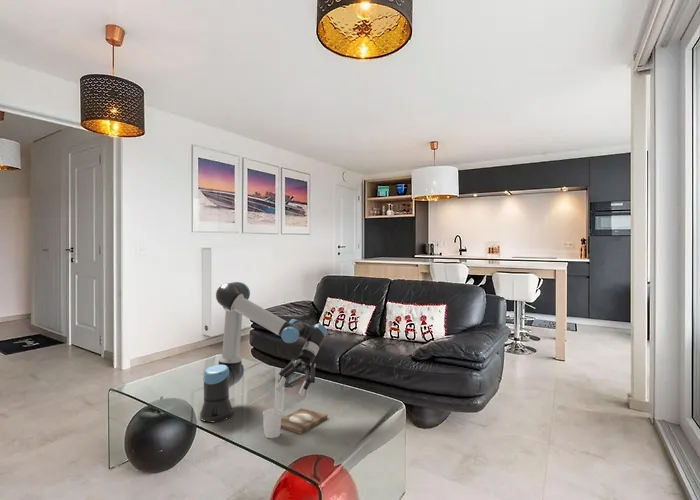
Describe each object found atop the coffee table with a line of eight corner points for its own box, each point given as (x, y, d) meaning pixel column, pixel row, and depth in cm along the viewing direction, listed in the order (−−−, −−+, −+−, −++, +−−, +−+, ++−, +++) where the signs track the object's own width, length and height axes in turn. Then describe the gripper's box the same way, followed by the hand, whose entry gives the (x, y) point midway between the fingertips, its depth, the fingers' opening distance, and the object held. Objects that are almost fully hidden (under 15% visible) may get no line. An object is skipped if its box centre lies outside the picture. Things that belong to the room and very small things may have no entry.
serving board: (300, 433, 166) (300, 430, 166) (273, 425, 174) (273, 422, 174) (327, 417, 183) (327, 414, 183) (301, 411, 191) (301, 407, 191)
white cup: (282, 430, 169) (282, 407, 169) (280, 438, 161) (279, 415, 162) (264, 431, 169) (264, 408, 169) (261, 439, 161) (261, 415, 161)
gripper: (332, 360, 183) (314, 401, 170) (293, 354, 197) (272, 392, 183) (326, 351, 179) (306, 393, 166) (286, 346, 192) (264, 384, 179)
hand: (288, 392), depth 175 cm, fingers open, 13 cm apart
